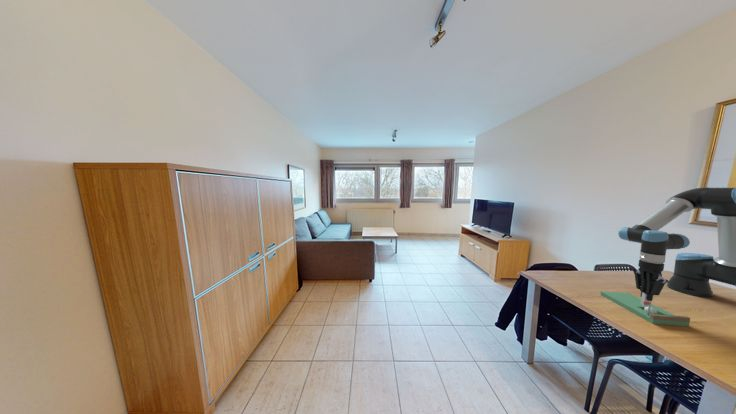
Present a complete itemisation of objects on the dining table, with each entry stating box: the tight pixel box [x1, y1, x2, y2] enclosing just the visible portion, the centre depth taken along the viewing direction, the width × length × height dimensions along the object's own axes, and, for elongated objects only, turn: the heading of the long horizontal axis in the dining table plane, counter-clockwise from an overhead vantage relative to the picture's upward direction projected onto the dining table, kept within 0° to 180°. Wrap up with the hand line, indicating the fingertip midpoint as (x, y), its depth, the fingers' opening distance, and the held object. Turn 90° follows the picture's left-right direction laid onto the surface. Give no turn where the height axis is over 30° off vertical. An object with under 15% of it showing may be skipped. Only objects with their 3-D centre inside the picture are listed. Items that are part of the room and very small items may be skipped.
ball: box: [644, 306, 658, 314], centre depth 104 cm, size 4×4×4 cm
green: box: [599, 290, 691, 327], centre depth 109 cm, size 15×26×9 cm, turn 171°
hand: (645, 305), depth 106 cm, fingers closed
